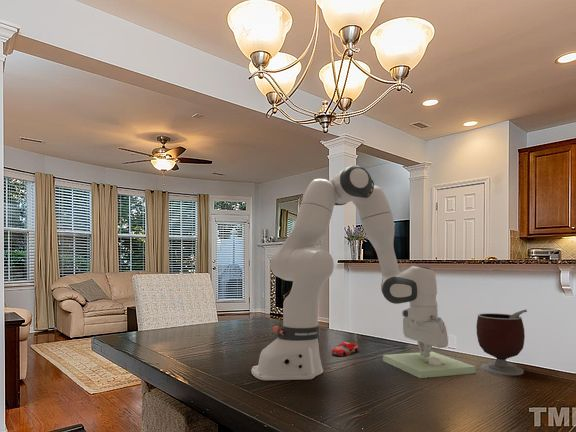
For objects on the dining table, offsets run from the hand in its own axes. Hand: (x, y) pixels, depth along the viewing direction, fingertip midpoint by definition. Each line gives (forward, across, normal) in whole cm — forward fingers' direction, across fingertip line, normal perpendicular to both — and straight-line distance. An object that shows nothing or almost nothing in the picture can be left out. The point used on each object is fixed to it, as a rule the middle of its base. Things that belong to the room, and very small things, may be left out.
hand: (425, 356), depth 141 cm
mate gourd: (+3, -12, -21) cm, 24 cm away
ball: (+1, -5, 0) cm, 5 cm away
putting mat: (+3, -1, 0) cm, 3 cm away
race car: (+4, +25, +18) cm, 31 cm away
